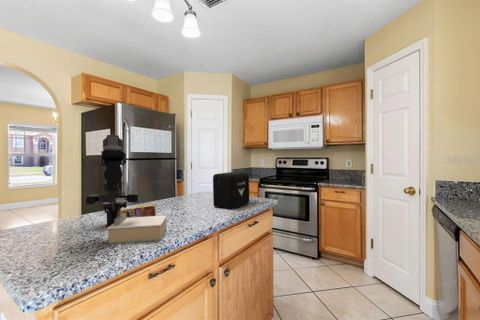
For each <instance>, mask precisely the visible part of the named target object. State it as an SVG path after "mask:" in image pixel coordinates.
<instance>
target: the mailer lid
mask: <svg viewBox="0 0 480 320" xmlns="http://www.w3.org/2000/svg"><path fill="white" fill-rule="evenodd" d="M167 218H168V215H156V216H149V217H131V218H126V213H123V214H121V215H120V216H119V217H117V218H116V219H114V223H113V224H112V225H110V226H107V228H106V230H109V229H121V228H138V227H154V226H161V225H162V224H163V222H164V221H165V219H166V220H167Z"/></svg>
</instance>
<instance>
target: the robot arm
mask: <svg viewBox="0 0 480 320" xmlns="http://www.w3.org/2000/svg"><path fill="white" fill-rule="evenodd" d="M100 152H101V157H100V158H101V159H100V161H101V162H100V163H101V166H102V167H103V166H105V169H104V172H103V177H104V181H105V182H104V184H103V189H101V190H100V192H99V193H98V194H97V193H95V194H91V195H88V196H86V197H85V199H84V204H85V205H93V204H95V203H96V202H99V204H101V206H102V207H103V209H104V214H106V224H105V226H104V227H109V226H110V225H112V224H113V223H114V219H116V218H117V217H118V215H119V212H120V210H121V208H128V207H127V206H128V205H127V204H128V203H139V201H141V200H142V193H140V192H130V193H128V194H127V195H125V193H124V191H123V185H124V181H123V174H124V172H123V168H122V167H121V166H125V164H126V163H127V154H126V152H125V150H124V141H123V139H121V137H120V135H118V134H108V135H106V138H104V139H102V150H101V151H100Z"/></svg>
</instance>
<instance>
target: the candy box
mask: <svg viewBox="0 0 480 320" xmlns="http://www.w3.org/2000/svg"><path fill="white" fill-rule="evenodd" d="M123 213H126V218H131V217H149V216H157V214H156V204H152V203H151V204H146V205H145V204H144V205H137V206H130V207H129V206H128V207H127V208H124V207H122V208H121V210H120V212H119V215H118V217H119V216H120V215H121V214H123Z"/></svg>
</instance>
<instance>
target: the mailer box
mask: <svg viewBox="0 0 480 320" xmlns="http://www.w3.org/2000/svg"><path fill="white" fill-rule="evenodd" d="M167 229H168V227H167V218H166V219H165V221H164V222H163V224H162V225H161V226H154V227H138V228H121V229H107V230H108V233H107V234H108V245H110V244H124V243H125V244H126V243H138V242H139V243H140V242H150V241H151V242H153V241H162V239H163V237H164V235H165V234H166V231H167Z"/></svg>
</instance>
